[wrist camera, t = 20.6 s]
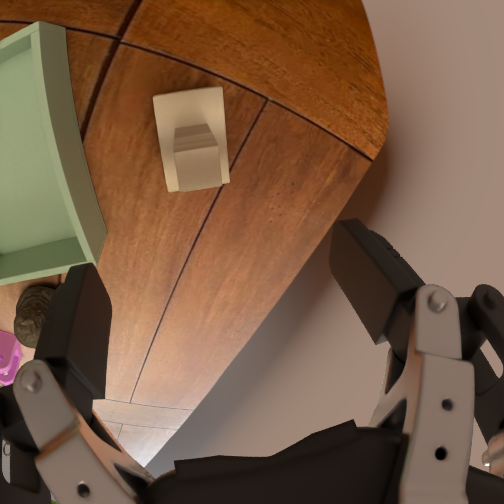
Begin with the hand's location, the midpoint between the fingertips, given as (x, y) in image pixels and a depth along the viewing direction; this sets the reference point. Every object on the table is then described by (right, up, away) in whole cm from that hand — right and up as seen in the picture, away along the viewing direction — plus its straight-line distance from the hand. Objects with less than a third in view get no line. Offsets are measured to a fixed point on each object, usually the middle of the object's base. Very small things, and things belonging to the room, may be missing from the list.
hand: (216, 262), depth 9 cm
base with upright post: (-4, +11, +15) cm, 19 cm away
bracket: (-42, -13, +22) cm, 50 cm away
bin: (-22, +10, +11) cm, 26 cm away
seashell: (-26, -8, +23) cm, 36 cm away
